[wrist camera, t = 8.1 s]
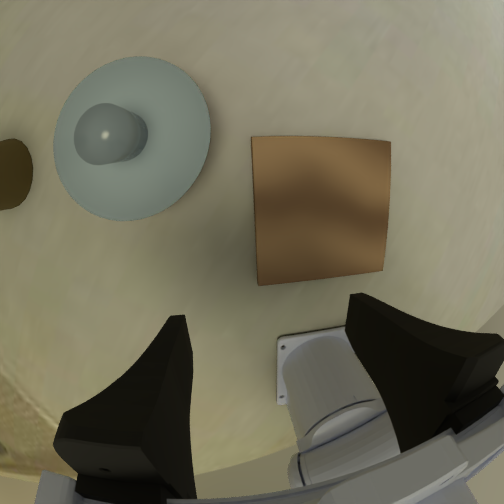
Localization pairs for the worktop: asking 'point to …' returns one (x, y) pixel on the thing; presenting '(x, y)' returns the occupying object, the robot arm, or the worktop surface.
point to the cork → (14, 173)
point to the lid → (132, 138)
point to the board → (319, 206)
